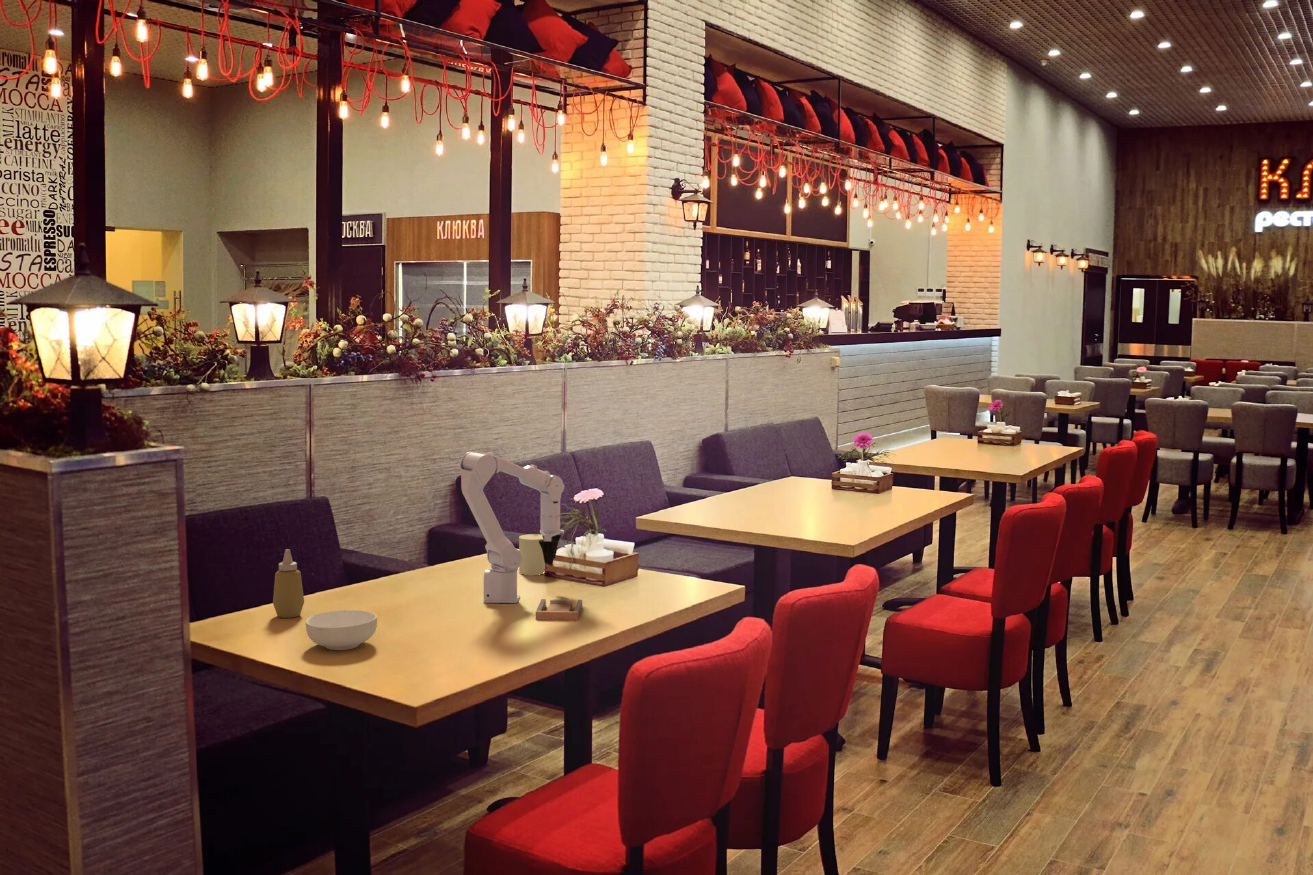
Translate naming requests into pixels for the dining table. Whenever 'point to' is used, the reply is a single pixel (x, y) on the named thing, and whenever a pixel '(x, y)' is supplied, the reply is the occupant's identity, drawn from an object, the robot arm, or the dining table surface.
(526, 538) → the can
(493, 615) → the dining table surface
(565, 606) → the brown slab
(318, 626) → the cereal bowl
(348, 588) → the dining table surface
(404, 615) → the dining table surface
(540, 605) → the tray
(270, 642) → the dining table surface
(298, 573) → the squeeze bottle
